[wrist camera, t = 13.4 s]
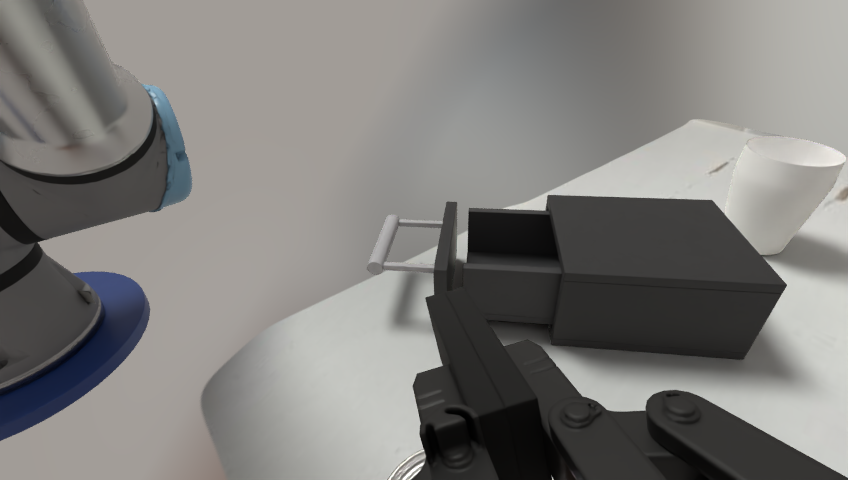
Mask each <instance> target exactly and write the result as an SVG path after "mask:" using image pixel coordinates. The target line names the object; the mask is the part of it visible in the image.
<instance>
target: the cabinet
mask: <svg viewBox="0 0 848 480" xmlns="http://www.w3.org/2000/svg"><path fill="white" fill-rule="evenodd" d="M546 211H549V214H550V219H551V224H552V228H553V233H554V238H555V243H556V247H557V252H558V257H559V261H560V266H561V271H562V278H561V284H560V289H559V294H558V299H557V305H556V310H555V315H554V320H553V325H552V324H548V327H549V333H550V340H551V345H562V346H575V347H588V348H600V349H613V350H626V351H639V352H652V353H664V354H677V355H690V356H703V357H716V358H728V359H741V360H743V359H744V357H745V356H746V354H747V352H748V351H749V349H750V347H751V346H752V344H753V342H754V340H755V339H756V337H757V335H758V334H759V332H760V330H761V329H762V327H763V325H764V323H765V322H766V320H767V318H768V317H769V315H770V313H771V312H772V310H773V308H774V306H775V305H776V303H777V301H778V300H779V298H780V296H781V295H782V293H783V291H784V290H785V288H786V286H787V284H786V283H785V282H784V281H783V280H782V279H781V278H780V277H779V275H778V274H777V273H776V272H775V271H774V270H773V269H772V267H771V266H770V265H769V264H768V263H767V262H766V261H765V260H764V258H763V257H762V256H761V255H760V254H759V253H758V252H757V250H756V249H755V248H754V247H753V246H752V245H751V244H750V243H749V241H748V240H747V239H746V238H745V237H744V236H743V235H742V233H741V232H740V231H739V230H738V229H737V228H736V227H735V226H734V224H733V223H732V222H731V221H730V220H729V219H728V218H727V216H726V215H725V214H724V213H723V212H722V211H721V210H720V209H719V207H718V206H717V205H716V204H715V203H714V202H713V201H712V200H689V199H657V198H625V197H593V196H561V195H548V197H547V204H546Z"/></svg>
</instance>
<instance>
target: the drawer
mask: <svg viewBox="0 0 848 480" xmlns="http://www.w3.org/2000/svg"><path fill="white" fill-rule="evenodd" d="M468 220H469V221H468V253H467V263H464V264H463V287H465V289H466V290H467V292H468V293H469V295H470V296H471V298H472V299H473V301H474V302H475V304H476V305H477V307H478V308H479V310H480V311H481V313H482V314H483V316H484V317H485V319H486V320H496V321H510V322H524V323H538V324H552V325H553V320H554V315H555V310H556V305H557V299H558V294H559V289H560V284H561V278H562V271H561V266H560V261H559V257H558V252H557V247H556V243H555V238H554V233H553V228H552V224H551V219H550V214H549V211H537V210H509V209H482V208H481V209H479V208H469V219H468ZM398 226H406V227H430V228H441V234H440V239H439V244H438V249H437V254H436V260H435V265H434V264H415V263H397V262H386V260H387V257H388V255H389V252H390V248H391V246H392V243H393V240H394V237H395V235H396V232H397V229H398ZM456 252H457V202H447V203H446V208H445V213H444V218H443V221H423V220H400V219H399V218H398V217H397V216H396V215H389V216H388V217H387V218H386V221H385V223H384V225H383V228H382V231H381V233H380V235H379V238H378V240H377V243H376V245H375V248H374V250H373V252H372V255H371V257H370V260H369V262H368V265H367V269H368V271H369V272H370V273H372V274H374V275H378V274H380V273H382V271H383V269H384V270H393V271H411V272H428V273H434V295H437V294H440V293H444V292H447V291H451V290H452V284H453V276H454V268H455V260H456Z"/></svg>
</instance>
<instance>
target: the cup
mask: <svg viewBox="0 0 848 480" xmlns="http://www.w3.org/2000/svg"><path fill="white" fill-rule="evenodd" d="M845 161H846V158H845V156H844V155H843V154H842V153H840V152H839V151H837V150H835V149H833V148H831V147H828V146H826V145H823V144H819V143H816V142H812V141H807V140H802V139H798V138H791V137H781V136H762V137H755V138H752V139H750V140H748V141H747V143H746V145H745V147H744V149H743V151H742V153H741V155H740V157H739V159H738V161H737V163H736V165H735V168H734V172H733V176H732V180H731V184H730V189H729V193H728V197H727V202H726V206H725V211H724V214H725V215H726V216H727V218H728V219H729V220H730V221H731V222H732V223H733V224H734V226H735V227H736V228H737V229H738V230H739V231H740V232H741V233H742V235H743V236H744V237H745V238H746V239H747V240H748V241H749V243H750V244H751V245H752V246H753V247H754V248H755V249H756V250H757V252H758V253H759V254H760V255H774V254H778V253H780V252H781V251H782V250H783V249H784V248H785V246H786V245H787V244H788V243H789V241H790V240H791V239H792V238H793V237H794V235H795V234H796V233H797V232H798V230H799V229H800V228H801V227H802V225H803V224H804V223H805V222H806V220H807V219H808V218H809V217H810V216H811V214H812V213H813V212H814V211H815V209H816V208H817V207H818V206H819V204H820V203H821V202H822V201H823V199H824V198H825V197H826V196H827V194H828V193H829V192H830V191H831V189H832V188H833V186H834V184H835V182H836V180H837V177H838V175H839V173H840V171H841V169H842V167H843V165H844V163H845Z"/></svg>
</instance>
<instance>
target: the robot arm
mask: <svg viewBox="0 0 848 480" xmlns="http://www.w3.org/2000/svg"><path fill="white" fill-rule="evenodd" d="M191 189H192V177H191V170H190V165H189V161H188V157H187V155H186V153H185V146H184V141H183V137H182V134H181V131H180V128H179V125H178V122H177V120H176V117H175V114H174V112H173V110H172V107H171V105H170V103H169V101H168V99H167V97H166V95H165V94H164V92H163V91H162V90H161V89H160V88H158V87H155V86H152V85H144V84H141V83H140V82H139V81H138V80H137V78H136V77H135V76H133V75H132V74H131V73H130V72H129V71H127V70H125V69H124V68H122V67H121V66H119V65H117V64H115V63H113V62H111V60H110V58H109V55H108V53H107V51H106V49H105V47H104V45H103V43H102V41H101V38H100V36H99V34H98V32H97V30H96V28H95V25H94V23H93V21H92V19H91V17H90V14H89V12H88V10H87V8H86V6H85V4H84V2H83V0H0V396H2V395H5V394H7V393H10V392H12V391H15V390H17V389H19V388H21V387H24V386H26V385H28V384H30V383H32V382H34V381H36V380H37V379H39V378H41V377H43V376H45V375H46V374H48V373H50V372H51V371H53V370H54V369H56V368H57V367H59V366H60V365H62V364H63V363H65V362H66V361H67V360H69V359H70V358H71V357H72V356H74V355H75V354H76V353H77V352H78V351H80V350H81V349H82V348H83V347H84V346H85V345H86V344H87V343H88V342H89V341H90V340H91V338H92V337H93V336H94V335H95V333H96V332H97V331H98V329H99V327H100V326H101V324H102V322H103V319H104V315H105V307H104V304H103V302H102V301H101V299H100V297H99V296H98V294H97V293H96V292H95V291H94V290H93V289H92V288H91V286H89V285H88V284H87V283H86V282H84V281H83V280H81V279H80V278H78V277H77V276H76V275H74V274H73V273H71V272H70V271H68V270H67V269H66V268H64V267H63V266H61V265H60V264H59V263H57V262H56V261H54V260H53V259H51V258H50V257H49V256H47V255H46V254H45V253H44V251H43V250H42V249H41V247H40V245H39V244H38V242H40V241H43V240H47V239H49V238H53V237H57V236H61V235H64V234H68V233H71V232H75V231H79V230H82V229H86V228H90V227H94V226H97V225H101V224H104V223H108V222H112V221H115V220H119V219H123V218H127V217H130V216H134V215H137V214H141V213H145V212H156V211H160V210H161V209H162V208H163V207H166V206H169V205H172V204H175V203H178V202H181V201H183V200H184V199H186V198H187V197H188V196H189V194H190V192H191ZM425 299H426V302H427V306H428V310H429V314H430V318H431V322H432V326H433V330H434V334H435V338H436V342H437V346H438V350H439V354H440V358H441V361H442V364H443V366H441V367H438V368H435V369H431V370H428V371H425V372H421V373H418V374H417V376H416V378H415V381H414V384H413V390H414V394H415V399H416V403H417V408H418V413H419V417H420V422H421V425H420V438H421V441H422V445H423V448H424V452H425V455H426V459H425V463H424V465H423V466H422V468H421V470H420V471H419V472H418V474H417V475H416V476H415V477H414V478H413V479H411V480H552V477H553V479H554V480H848V478H847V477H845V476H843V475H841V474H840V473H838V472H836V471H834V470H832V469H831V468H829V467H827V466H825V465H823V464H822V463H820V462H818V461H816V460H814V459H812V458H811V457H809V456H807V455H805V454H803V453H802V452H800V451H798V450H796V449H794V448H793V447H791V446H789V445H787V444H785V443H783V442H782V441H780V440H778V439H776V438H774V437H773V436H771V435H769V434H767V433H765V432H764V431H762V430H760V429H758V428H756V427H754V426H753V425H751V424H749V423H747V422H745V421H744V420H742V419H740V418H738V417H736V416H735V415H733V414H731V413H729V412H727V411H725V410H724V409H722V408H720V407H718V406H716V405H715V404H713V403H711V402H709V401H707V400H706V399H704V398H702V397H699V396H697V395H694V394H692V393H690V392H684V391H678V390H669V391H662V392H659V393H656V394H653V395H652V396H651V397H650V398H649V399H648V400H647V404H646V411H630V412H614V411H608V410H606V409H605V408H604V407H603V406H602V405H601V404H599V403H598V402H597V401H594V400H592V399H589V398H586V397H582V396H581V394H580V393H579V392H578V391H577V390H576V388H575V387H574V386H573V385H572V384H571V382H570V381H569V380H568V379H567V377H566V376H565V375H564V374H563V373H562V371H561V370H560V369H559V368H558V367H556V364H555V363H554V362H553V361H552V359H551V358H549V356H548V354H547V353H546V352H545V351H544V350H543V348H542V347H541V346H539V345H537V344H535V343H533V342H531V341H529V340H524V341H521V342H518V343H514V344H511V345H508V346H503V345H502V343H501V342H500V340H499V339H498V337H497V336H496V334H495V333H494V331H493V330H492V328H491V327H490V325H489V324H488V322H487V321H486V319H485V317H484V316H483V314H482V313H481V311H480V310H479V308H478V307H477V305H476V304H475V302H474V301H473V299H472V298H471V296H470V295H469V293H468V292H467V290H466V289H465V287H461V288H458V289H454V290H451V291H447V292H444V293H440V294H437V295H433V296H430V297H426V298H425ZM551 475H552V476H551Z"/></svg>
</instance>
